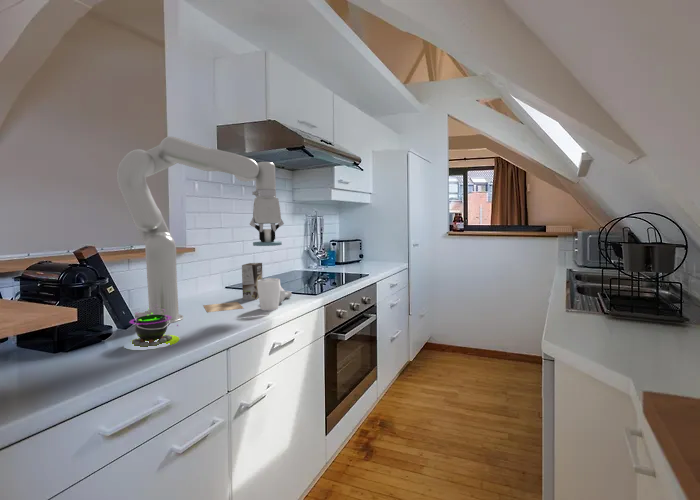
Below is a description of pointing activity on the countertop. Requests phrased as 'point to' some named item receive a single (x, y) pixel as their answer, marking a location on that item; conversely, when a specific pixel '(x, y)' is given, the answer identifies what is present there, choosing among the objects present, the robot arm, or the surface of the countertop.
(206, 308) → the board
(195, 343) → the countertop surface
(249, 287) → the coffee box
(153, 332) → the toy cauldron
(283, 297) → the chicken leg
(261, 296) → the cup
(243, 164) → the robot arm
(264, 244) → the lid
